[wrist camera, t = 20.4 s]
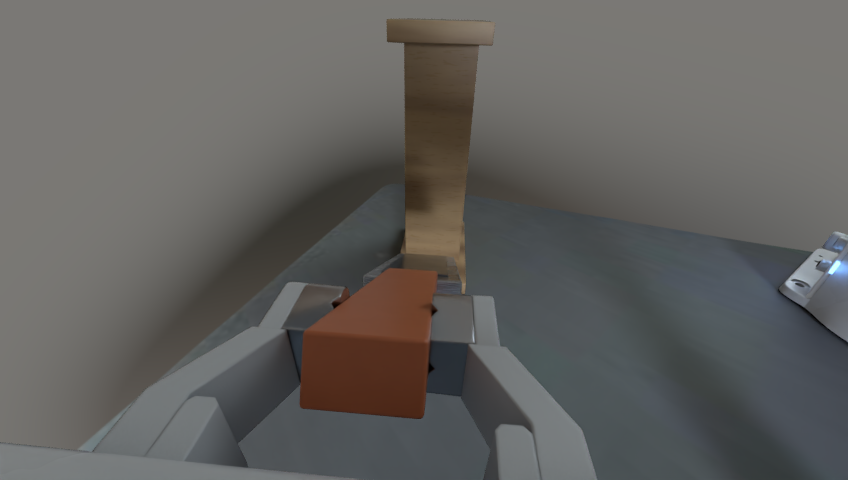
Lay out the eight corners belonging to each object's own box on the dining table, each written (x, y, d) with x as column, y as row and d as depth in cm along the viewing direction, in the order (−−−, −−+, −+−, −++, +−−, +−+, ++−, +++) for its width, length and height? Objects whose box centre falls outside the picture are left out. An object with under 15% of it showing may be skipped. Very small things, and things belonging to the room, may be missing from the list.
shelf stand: (464, 294, 40) (495, 22, 26) (394, 289, 40) (386, 19, 26) (463, 230, 51) (483, 20, 37) (408, 227, 52) (408, 18, 38)
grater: (488, 427, 6) (494, 345, 6) (236, 405, 6) (239, 325, 6) (453, 269, 28) (454, 251, 28) (398, 265, 29) (399, 248, 29)
